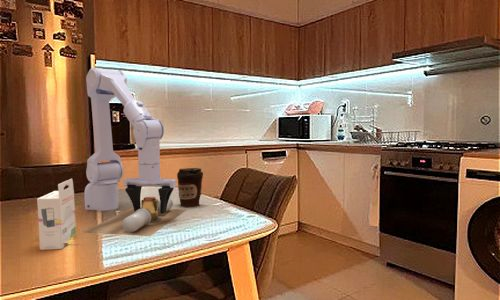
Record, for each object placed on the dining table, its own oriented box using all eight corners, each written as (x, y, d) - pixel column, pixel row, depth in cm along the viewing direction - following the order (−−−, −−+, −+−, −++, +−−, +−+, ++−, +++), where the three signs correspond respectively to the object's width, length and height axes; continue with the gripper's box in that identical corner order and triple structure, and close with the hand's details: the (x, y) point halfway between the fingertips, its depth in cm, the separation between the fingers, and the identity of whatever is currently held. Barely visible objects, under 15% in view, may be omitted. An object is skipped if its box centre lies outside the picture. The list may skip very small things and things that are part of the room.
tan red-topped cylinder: (139, 221, 99) (138, 199, 98) (146, 217, 103) (145, 196, 103) (154, 222, 98) (154, 199, 98) (160, 217, 103) (160, 196, 102)
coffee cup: (197, 212, 114) (197, 170, 113) (173, 210, 115) (172, 170, 114) (206, 205, 122) (206, 167, 121) (183, 204, 124) (182, 166, 123)
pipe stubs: (121, 233, 90) (120, 214, 90) (159, 210, 113) (159, 195, 112) (139, 234, 89) (138, 215, 89) (174, 211, 112) (173, 196, 112)
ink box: (55, 237, 89) (53, 178, 88) (76, 237, 89) (74, 177, 88) (38, 250, 80) (35, 184, 79) (61, 249, 81) (58, 184, 79)
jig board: (82, 235, 90) (82, 231, 90) (133, 210, 116) (132, 207, 116) (150, 239, 87) (150, 235, 87) (187, 212, 113) (187, 209, 113)
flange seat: (135, 222, 99) (135, 221, 99) (145, 216, 104) (145, 216, 104) (156, 223, 98) (156, 222, 98) (165, 217, 103) (165, 217, 103)
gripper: (117, 164, 97) (118, 214, 98) (168, 165, 95) (169, 217, 96) (130, 161, 104) (131, 208, 105) (178, 162, 102) (179, 210, 103)
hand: (150, 212), depth 101 cm, fingers open, 7 cm apart
